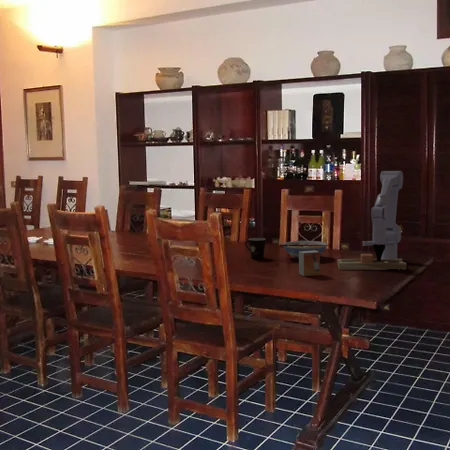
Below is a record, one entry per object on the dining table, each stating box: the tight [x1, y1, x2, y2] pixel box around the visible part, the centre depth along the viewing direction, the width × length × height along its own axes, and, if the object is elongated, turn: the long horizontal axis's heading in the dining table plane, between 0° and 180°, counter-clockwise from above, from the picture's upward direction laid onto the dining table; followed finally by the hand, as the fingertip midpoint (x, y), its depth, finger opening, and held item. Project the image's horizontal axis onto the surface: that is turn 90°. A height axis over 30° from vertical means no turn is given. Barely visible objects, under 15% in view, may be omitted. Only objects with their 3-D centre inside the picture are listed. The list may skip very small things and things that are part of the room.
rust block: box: [360, 253, 374, 263], centre depth 285 cm, size 5×5×4 cm
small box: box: [298, 250, 321, 277], centre depth 271 cm, size 8×6×10 cm
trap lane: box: [337, 258, 407, 271], centre depth 285 cm, size 11×30×3 cm, turn 84°
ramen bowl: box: [279, 240, 331, 260], centre depth 312 cm, size 25×23×8 cm
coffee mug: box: [244, 237, 266, 260], centre depth 317 cm, size 12×9×10 cm
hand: (378, 261), depth 284 cm, fingers closed
